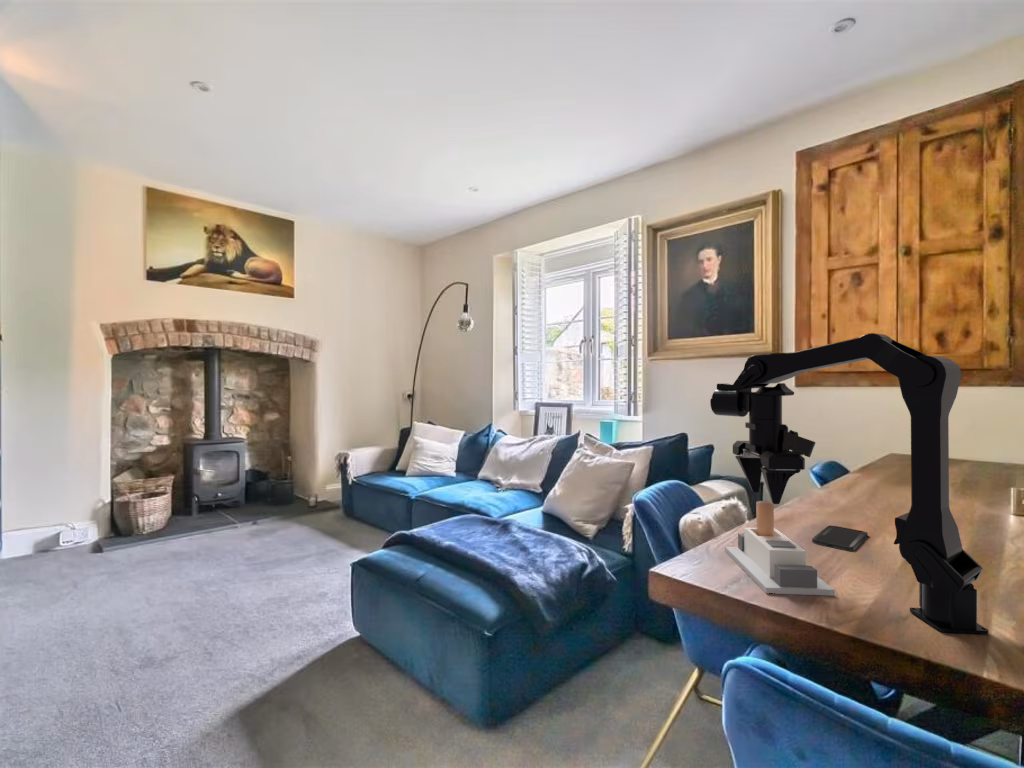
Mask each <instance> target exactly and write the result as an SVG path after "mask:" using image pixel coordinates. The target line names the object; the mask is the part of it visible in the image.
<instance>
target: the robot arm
mask: <svg viewBox="0 0 1024 768" xmlns="http://www.w3.org/2000/svg"><path fill="white" fill-rule="evenodd" d="M865 360H870V361H872V362H873V363H875V364H876V365H877V366H879V367H880V368H881V369H883V370H884V371H886V372H887V373H889V374H892V375H894V376H895V377H896V378H897V380H898V384H899V388H900V392H901V393H900V394H901V396H902V399H903V401H904V404H905V405H906V408H907V410H908V412H909V415H910V476H911V477H910V480H911V481H910V484H911V485H910V488H911V489H910V492H911V493H910V495H911V496H910V497H911V500H910V501H911V503H910V509H909V511H908V512H906V513H903V514H901V515H899V516H896V517H894V526H895V531H896V537H895V539H894V541H893V545H898V550H899V554H900V555H901V557H902V559H903V560H905V561H906V562H907V563H908V565H910V566H911V569H912V571H913V575H914V576H915V579H916V581H917V582H918V584H919V591H918V592H919V595H918V596H919V601H918V603H919V604H918V605H919V607H909V611H910V613H911V614H913V615H915V617H917V618H919V619H921V620H923V621H924V622H925V623H927V624H929V626H932V627H933V628H935V629H936V630H937V631H939V632H942V633H960V634H962V633H963V634H984V635H985V634H986V635H987V634H989V633H990V632H989V631H990V629H988V628H987V627H985V626H984V625H982V624H980V623H978V590H977V589H976V588H975V586H974V584H973V582H974V581H977V580H978V578H979V577H980V575H981V573H982V571H983V567H982V565H980V564H979V563H978V562H977V561H976V560H975V559H974V558H973V557H972V556H971V555H970V554H969V553H967V551H965V549H963V544H962V541H961V536H960V533H959V528H958V525H957V523H956V519H954V518H955V517H954V515H953V514H952V512H951V509H950V479H949V478H950V473H949V472H950V469H949V468H950V461H949V460H950V459H949V457H950V454H949V453H950V450H949V447H950V446H949V440H950V439H949V430H950V429H949V416H950V413H951V410H952V409H953V405H954V403H955V401H956V398H957V396H958V392H959V386H960V382H961V378H962V371H961V368H960V366H959V365H958V364H957V363H956V362H955V361H954V360H952V359H951V358H948V357H945V356H939V355H928V354H926V353H923V352H922V351H919V350H917V349H915V348H912V347H910V346H908V345H906V344H903V343H902V342H901V343H900V342H898V341H897V340H894V339H893V338H891V337H890V336H889V335H886V334H884V333H875V332H870V333H866V334H863V335H860V336H859V337H857V336H856V337H854V338H848V339H845V340H844V339H843V340H841V341H840V340H839V341H837V342H832V343H828V344H823V345H819V346H814V347H811V348H805V349H802V350H797V351H792V352H777V353H757V354H753V355H752V354H751V355H750V356H749V357H748V358H747V360H746V361H745V363H744V366H743V369H742V371H741V372H740V374H739V375H738V377H737V378H736V380H735V381H734V382H733V384H729V383H717V384H716V389H715V390H714V392H712V395H711V398H710V400H709V401H710V408H711V411H712V413H713V414H714V415H716V416H726V417H740V418H741V417H742V418H743V417H746V416H747V415H748V421H747V422H745V424H744V425H745V428H747V429H748V440H736V441H735V442H734V443H733V444H732V454H733V455H735V459H736V461H737V462H738V464H739V466H740V468H741V470H742V472H743V474H744V476H745V478H746V480H747V482H748V484H749V487H750V489H751V491H752V492H753V493H759V492H760V489H761V487H760V486H761V482H762V481H761V480H762V477H763V479H764V483H765V485H766V489H767V491H768V495H769V498H770V500H771V502H772V503H773V504H774V505H780V503H781V500H782V497H783V495H784V492H785V490H786V487H787V484H788V482H789V479H790V478H792V477H793V476H794V475H796V474H799V473H800V472H801V471H803V470H805V469H806V458H805V457H808V458H810V457H811V456H812V453H813V451H814V447H815V445H816V442H815V441H814V440H811V439H808V438H805V437H801V436H799V433H798V431H794V430H792V429H789V427H788V425H787V424H786V423H785V424H784V423H783V397H785V396H786V397H787V396H794V395H795V392H794V391H793V390H792V389H791V388H789V387H788V386H787V385H786V383H784V382H783V381H786V380H789V379H792V378H795V377H796V376H798V375H799V374H802V373H805V372H808V371H809V372H810V371H814V370H819V369H823V368H829V367H834V366H839V365H845V364H851V363H855V362H859V361H865ZM782 382H783V383H782ZM771 384H775V386H769V385H771ZM752 389H757V390H756V391H752ZM803 456H805V457H803Z"/></svg>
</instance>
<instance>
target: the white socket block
mask: <svg viewBox="0 0 1024 768" xmlns="http://www.w3.org/2000/svg"><path fill="white" fill-rule="evenodd" d="M743 529H744V530H743V531H744V552H745V553H746V554H747V555H748V556H749V557H750V558H751V559H752V560H753V561H754V562H755V563H756V565H757V566H758V567H759V568H760V569H761V570H762V571H763V572H764V573H765V574H766V575H767V576H768V577H769V578H775V565H804V566H807V552H806V550H805V549H803V548H802V547H801V546H799V545H798V544H797V543H795V542H794V541H793V540H791V539H790V538H789V537H787V536H786V535H785V534H784V533H782V532H781V531H779V530H778V529H777V528H774V536H757V527H743Z"/></svg>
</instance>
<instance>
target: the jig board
mask: <svg viewBox="0 0 1024 768" xmlns="http://www.w3.org/2000/svg"><path fill="white" fill-rule="evenodd" d="M724 552H725V553H726V554H727V555H728V557H730V558H731V559H732V560H733V562H735V563H736V564H737V565H738V567H740V568H741V569H742V571H743V572H744V573H745V574H747V576H748V577H750V578H751V580H752V581H754V583H755V584H756V585H757V586H758V587H759V588H760V589H761V590H762V591H763V592H764V593H765V594H769V593H773V594H774V593H775V594H776V595H798V596H799V595H801V596H803V595H804V596H806V595H807V596H832V597H833V596H834V597H835V589H834V588H833V587H831V585H829V584H827V583H826V582H825V581H824V580H822V579H821V578H819V577H818V570H817V569H816V568H815V567H814V566H812V565H806V566H804V565H775V578H769V577H768V576H767V575H766V574H765V573H764V572H763V571H762V570H761V569H760V568H759V567H758V566H757V565H756V563H755V562H754V561H753V560H752V559H751V558H750V557H749V556H748V555H747V554H746V553H745V552H744V533H740V532H739V533H737V546H724ZM773 594H772V595H773Z"/></svg>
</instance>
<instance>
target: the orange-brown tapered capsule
mask: <svg viewBox="0 0 1024 768" xmlns="http://www.w3.org/2000/svg"><path fill="white" fill-rule="evenodd" d="M774 505H775V504H773V503H772V501H767V500H758V501H756V507H755V508H756V509H755V510H756V513H755V514H756V528H757V536H774V529H775V519H774V518H775V515H774V514H775V513H774V512H775V509H774Z"/></svg>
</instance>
